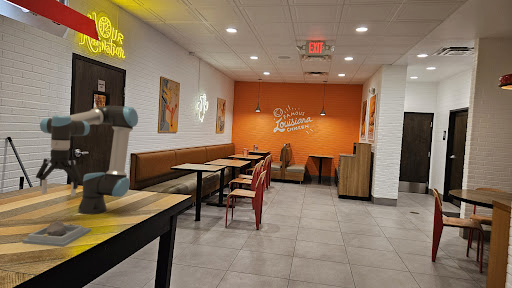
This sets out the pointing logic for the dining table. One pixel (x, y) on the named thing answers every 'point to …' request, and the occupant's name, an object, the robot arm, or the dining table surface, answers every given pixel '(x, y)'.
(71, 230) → the bracket board
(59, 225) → the stone
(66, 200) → the dining table surface
